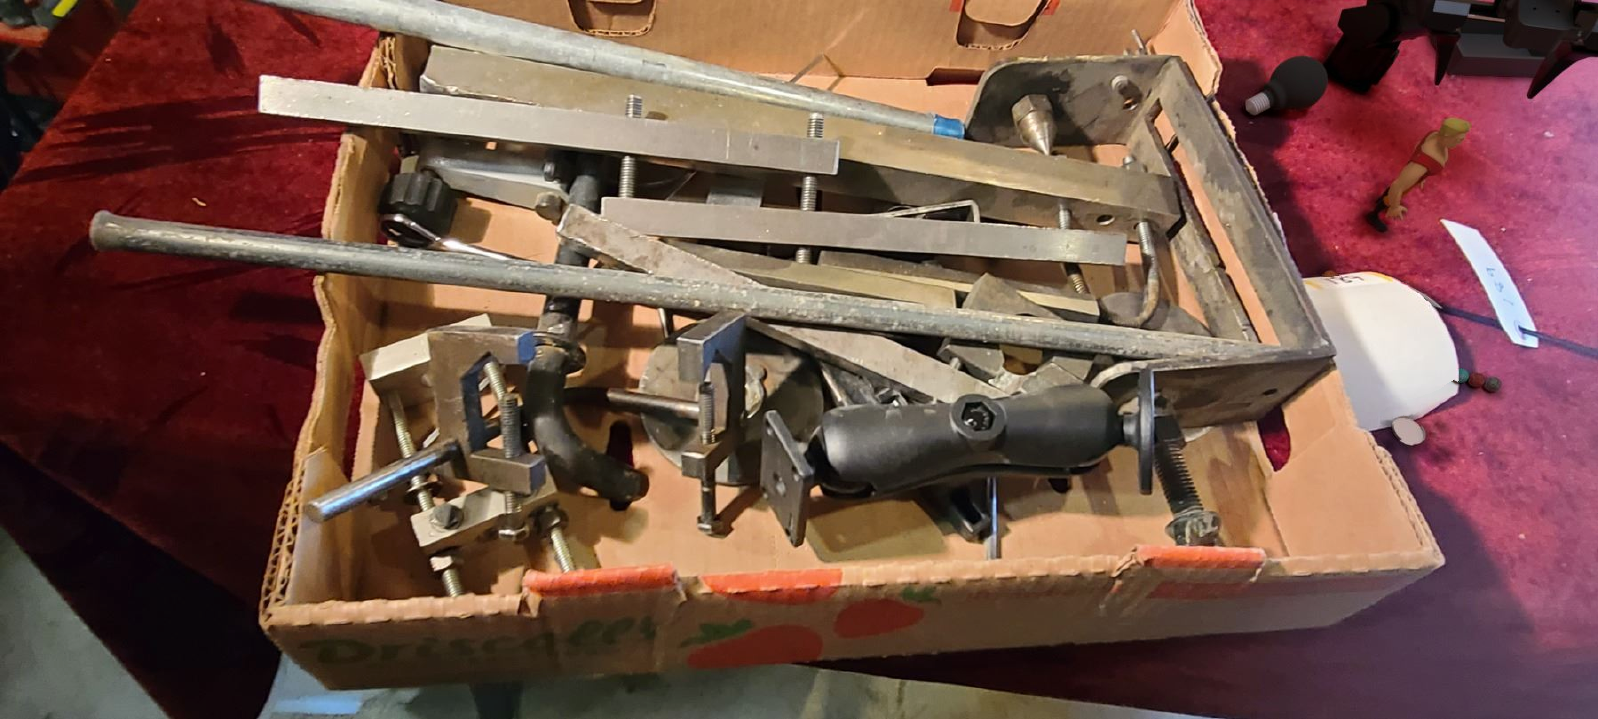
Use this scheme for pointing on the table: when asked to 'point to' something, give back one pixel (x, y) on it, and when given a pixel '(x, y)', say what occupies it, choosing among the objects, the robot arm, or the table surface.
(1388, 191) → the action figure
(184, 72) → the table surface
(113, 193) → the table surface
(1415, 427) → the grey flat disc
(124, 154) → the table surface
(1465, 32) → the tray
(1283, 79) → the light bulb
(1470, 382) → the beads
